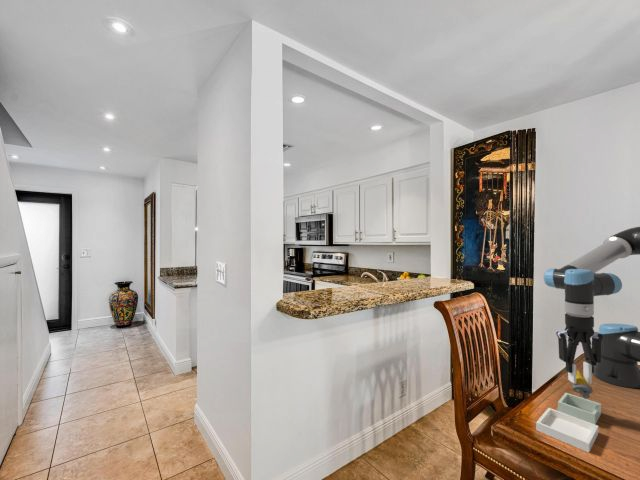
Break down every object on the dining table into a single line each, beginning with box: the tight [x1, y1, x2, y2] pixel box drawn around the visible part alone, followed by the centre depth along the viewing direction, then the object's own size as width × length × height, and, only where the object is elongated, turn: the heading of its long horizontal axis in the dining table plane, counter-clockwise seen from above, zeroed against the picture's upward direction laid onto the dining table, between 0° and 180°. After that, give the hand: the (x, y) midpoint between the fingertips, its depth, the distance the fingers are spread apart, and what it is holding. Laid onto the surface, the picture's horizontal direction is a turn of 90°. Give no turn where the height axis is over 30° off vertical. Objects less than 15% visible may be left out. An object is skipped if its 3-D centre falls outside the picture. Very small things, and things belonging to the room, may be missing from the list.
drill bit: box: [571, 369, 594, 399], centre depth 103 cm, size 5×5×10 cm
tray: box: [535, 407, 599, 453], centre depth 93 cm, size 13×13×2 cm
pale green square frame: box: [557, 392, 602, 425], centre depth 103 cm, size 10×10×4 cm
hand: (579, 381), depth 103 cm, fingers closed on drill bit, 4 cm apart
